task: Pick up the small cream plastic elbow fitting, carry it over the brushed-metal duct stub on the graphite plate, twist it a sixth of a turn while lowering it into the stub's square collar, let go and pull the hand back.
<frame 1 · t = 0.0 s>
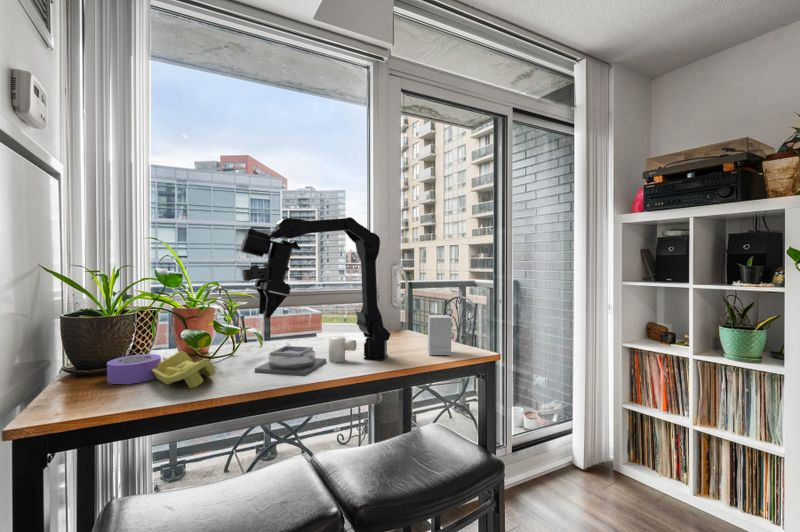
hand: (263, 315, 113), 15 cm above the table, tool pointing down, fingers open, 9 cm apart
supplement box: (439, 354, 136), on the table
plastic component: (184, 383, 102), on the table, touching tape roll
elbow fitting: (336, 360, 126), on the table
tape roll: (135, 379, 106), on the table, touching plastic component
duct stub: (292, 366, 118), on the table
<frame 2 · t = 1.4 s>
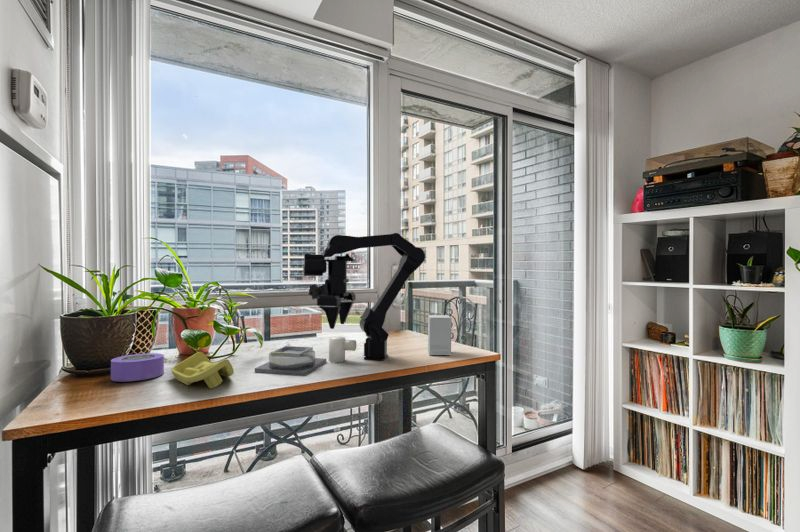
hand: (337, 326, 126), 11 cm above the table, tool pointing down, fingers open, 9 cm apart
plastic component: (203, 383, 103), on the table
tape roll: (137, 377, 107), on the table
everything else where it was.
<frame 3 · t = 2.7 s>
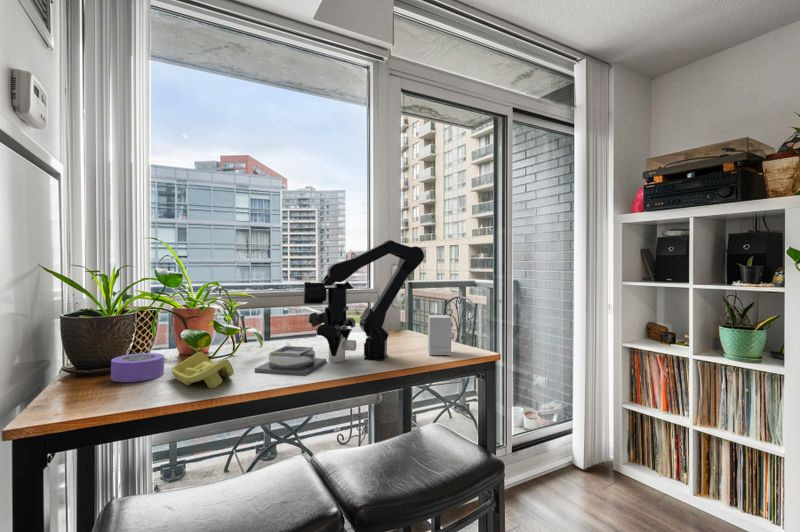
hand: (337, 354, 126), 2 cm above the table, tool pointing down, fingers closed on elbow fitting, 5 cm apart
elbow fitting: (336, 360, 126), on the table, touching gripper
everything else where it was.
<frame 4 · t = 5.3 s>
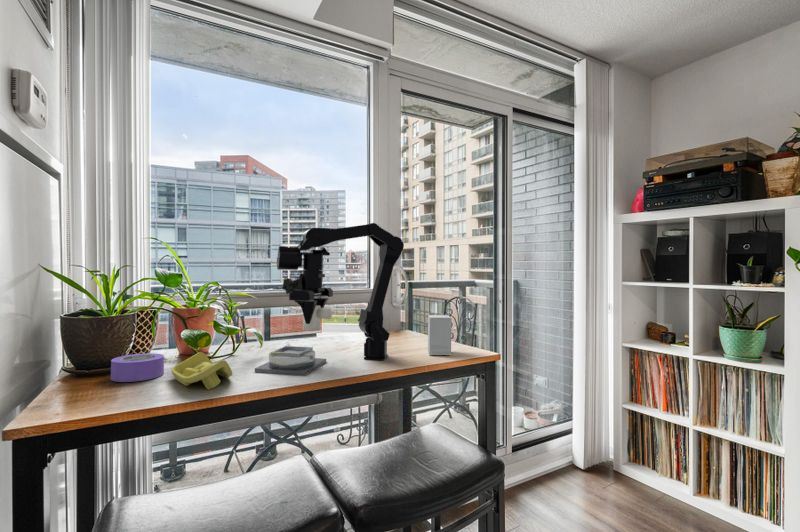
hand: (311, 322, 121), 12 cm above the table, tool pointing down, fingers closed on elbow fitting, 5 cm apart
elbow fitting: (311, 329, 121), point 10 cm above the table, touching gripper
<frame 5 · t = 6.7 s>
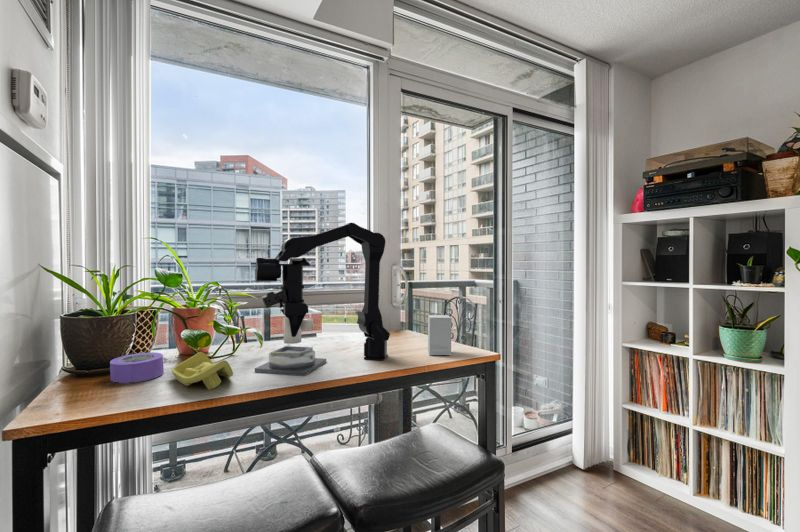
hand: (292, 335, 118), 9 cm above the table, tool pointing down, fingers closed on elbow fitting, 5 cm apart
elbow fitting: (292, 341, 118), point 7 cm above the table, touching gripper
when the fingers open (7 cm above the table, at t = 7.8 s): elbow fitting stays where it is, resting on duct stub.
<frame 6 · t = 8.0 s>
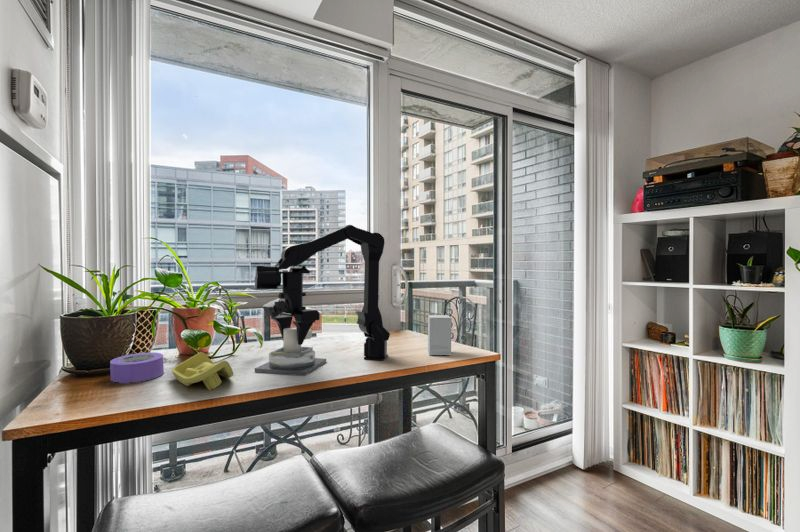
hand: (292, 342, 118), 7 cm above the table, tool pointing down, fingers open, 7 cm apart
elbow fitting: (292, 353, 118), point 4 cm above the table, touching duct stub
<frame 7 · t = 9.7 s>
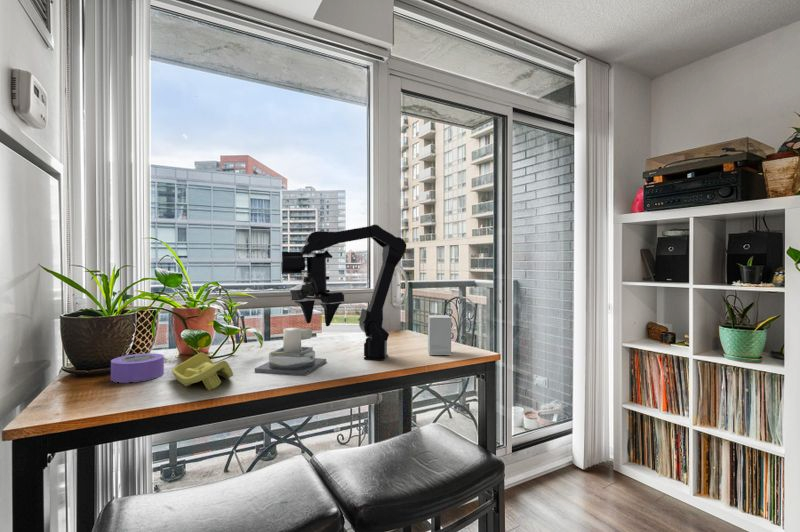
hand: (317, 324, 123), 11 cm above the table, tool pointing down, fingers open, 9 cm apart
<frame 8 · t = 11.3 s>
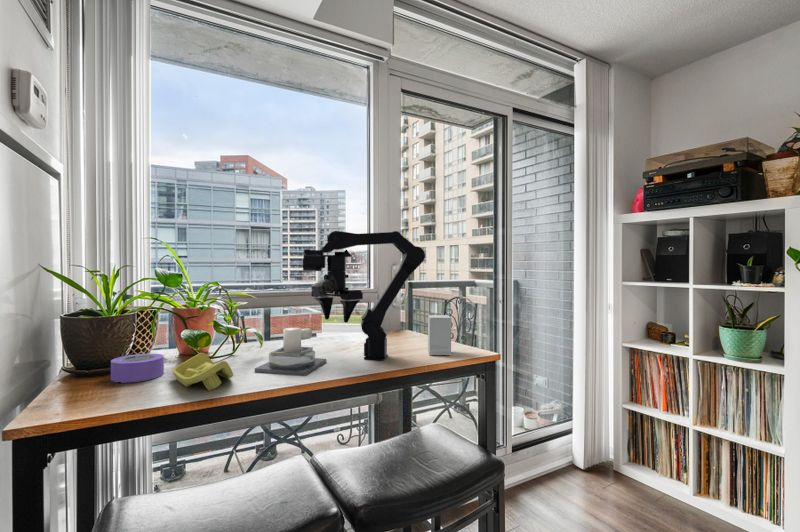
hand: (336, 320, 128), 12 cm above the table, tool pointing down, fingers open, 9 cm apart
at the end: elbow fitting 0.0 cm off-centre on the duct stub, point 4.0 cm above the duct stub's base; elbow fitting tilted 0°; the gripper is holding nothing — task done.
